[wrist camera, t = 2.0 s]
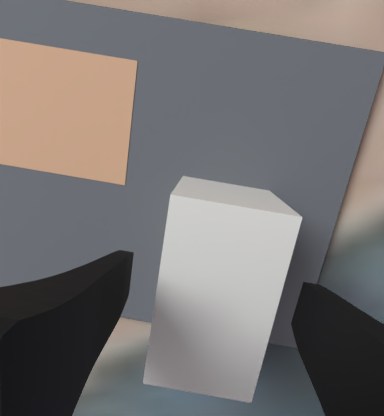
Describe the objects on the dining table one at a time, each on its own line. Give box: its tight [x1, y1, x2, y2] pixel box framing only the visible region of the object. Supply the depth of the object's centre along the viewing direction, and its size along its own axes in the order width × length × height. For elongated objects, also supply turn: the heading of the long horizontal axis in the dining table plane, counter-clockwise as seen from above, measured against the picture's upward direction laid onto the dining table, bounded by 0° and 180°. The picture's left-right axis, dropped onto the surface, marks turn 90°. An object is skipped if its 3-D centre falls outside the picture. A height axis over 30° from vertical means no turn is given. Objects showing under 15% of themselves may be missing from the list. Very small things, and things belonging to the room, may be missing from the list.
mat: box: [0, 0, 384, 348], centre depth 15 cm, size 22×16×1 cm
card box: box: [143, 176, 302, 403], centre depth 13 cm, size 4×8×5 cm, turn 171°
